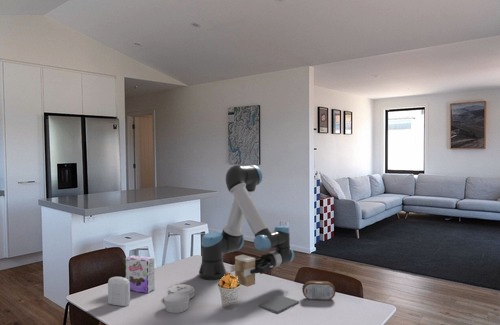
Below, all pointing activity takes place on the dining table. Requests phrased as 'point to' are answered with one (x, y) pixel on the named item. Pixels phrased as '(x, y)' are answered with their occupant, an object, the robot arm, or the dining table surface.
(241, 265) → the oak block
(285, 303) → the charcoal mat
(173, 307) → the ramekin
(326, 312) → the dining table surface
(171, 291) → the lid
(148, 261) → the candy box
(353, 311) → the dining table surface
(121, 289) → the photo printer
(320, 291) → the tin
